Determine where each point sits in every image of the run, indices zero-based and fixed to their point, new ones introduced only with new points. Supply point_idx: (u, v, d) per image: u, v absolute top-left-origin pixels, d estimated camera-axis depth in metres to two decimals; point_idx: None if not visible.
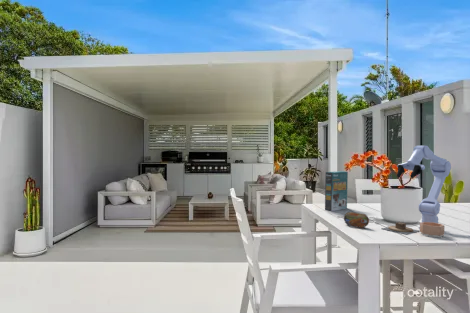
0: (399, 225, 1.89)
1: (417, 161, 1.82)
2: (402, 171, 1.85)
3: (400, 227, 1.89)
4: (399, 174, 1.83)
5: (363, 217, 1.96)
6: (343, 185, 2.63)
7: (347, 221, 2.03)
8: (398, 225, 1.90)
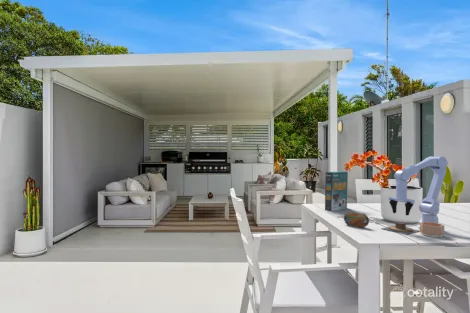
0: (399, 225, 1.89)
1: (404, 194, 1.88)
2: (395, 204, 1.94)
3: (400, 227, 1.89)
4: (395, 210, 1.94)
5: (363, 217, 1.96)
6: (343, 185, 2.63)
7: (347, 221, 2.03)
8: (398, 225, 1.90)
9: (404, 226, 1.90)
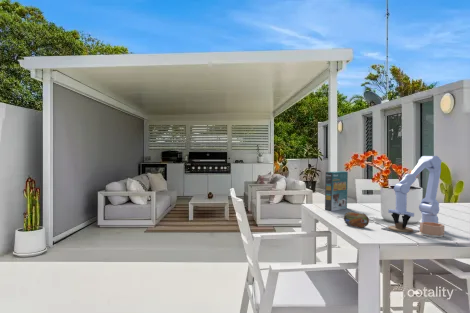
0: (399, 225, 1.89)
1: (404, 207, 1.88)
2: (398, 217, 1.93)
3: (400, 227, 1.89)
4: None
5: (363, 217, 1.96)
6: (343, 185, 2.63)
7: (347, 221, 2.03)
8: (398, 225, 1.90)
9: None
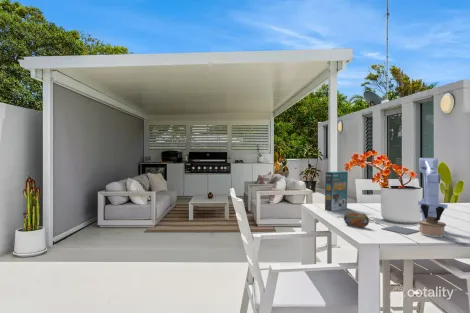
0: (431, 219, 1.80)
1: (436, 198, 1.78)
2: (427, 209, 1.84)
3: (432, 221, 1.79)
4: (426, 215, 1.83)
5: (363, 217, 1.96)
6: (343, 185, 2.63)
7: (347, 221, 2.03)
8: (429, 219, 1.80)
9: (436, 220, 1.80)
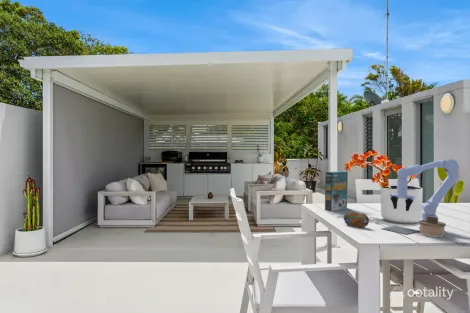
0: (431, 219, 1.80)
1: (405, 191, 1.98)
2: (396, 200, 2.04)
3: (432, 221, 1.79)
4: (395, 206, 2.04)
5: (363, 217, 1.96)
6: (343, 185, 2.63)
7: (347, 221, 2.03)
8: (429, 219, 1.80)
9: (436, 220, 1.80)
